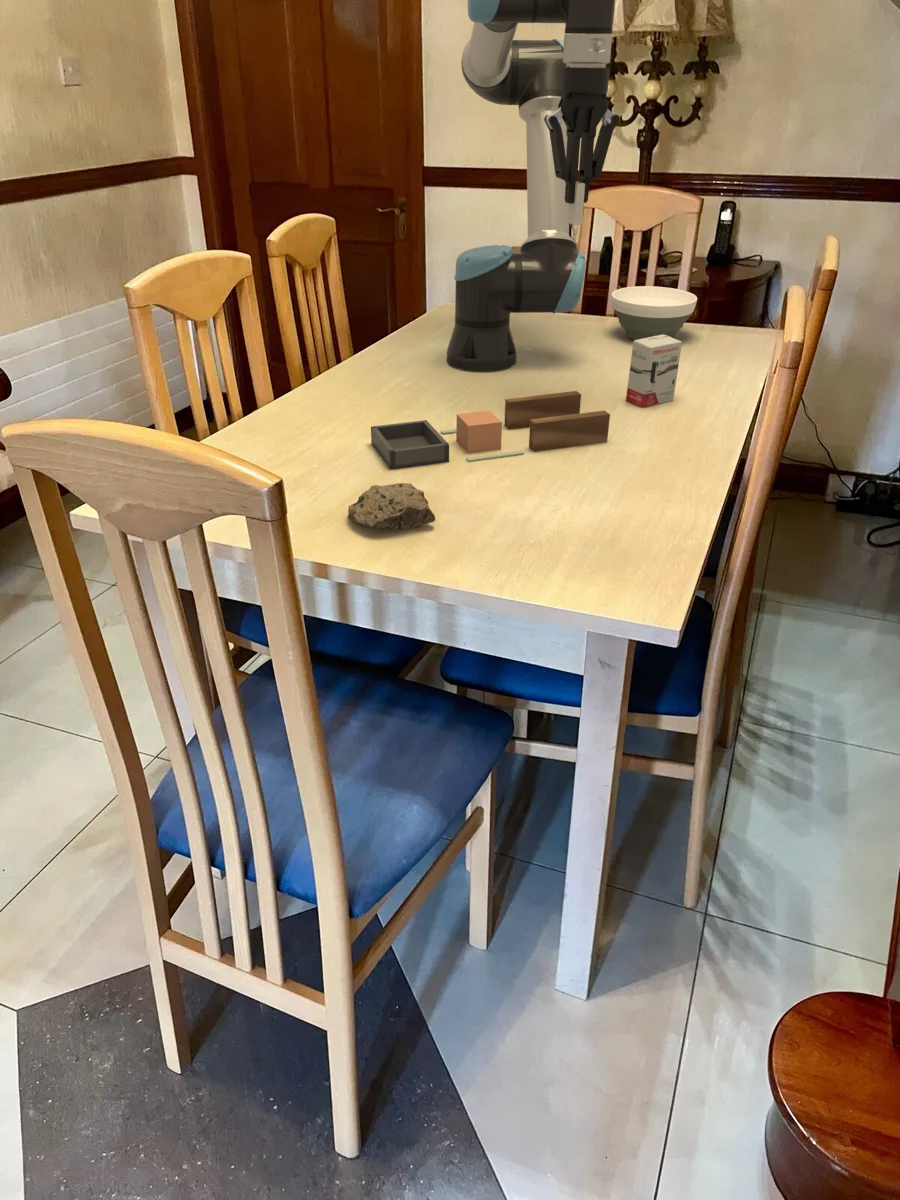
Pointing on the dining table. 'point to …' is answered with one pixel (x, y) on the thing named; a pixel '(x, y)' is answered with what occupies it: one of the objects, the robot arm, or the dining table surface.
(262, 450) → the dining table surface
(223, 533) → the dining table surface
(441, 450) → the tray
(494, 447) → the rust block
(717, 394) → the dining table surface
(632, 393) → the ink box
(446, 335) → the dining table surface
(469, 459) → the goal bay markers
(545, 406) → the channel
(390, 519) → the rock
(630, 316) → the bowl
